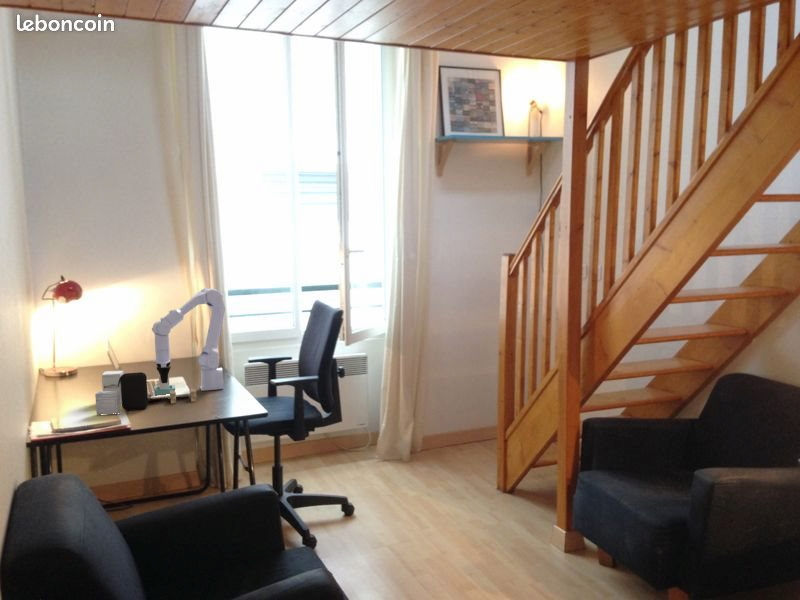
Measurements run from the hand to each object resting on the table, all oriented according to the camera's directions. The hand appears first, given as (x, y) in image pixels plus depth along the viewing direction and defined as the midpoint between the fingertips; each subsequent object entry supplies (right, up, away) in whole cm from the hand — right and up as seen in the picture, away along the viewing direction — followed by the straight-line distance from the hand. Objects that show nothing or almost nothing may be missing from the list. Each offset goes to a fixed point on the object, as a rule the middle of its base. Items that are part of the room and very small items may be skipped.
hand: (164, 381), depth 309 cm
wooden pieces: (+11, -7, -9) cm, 16 cm away
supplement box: (-18, -8, -10) cm, 21 cm away
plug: (0, -5, 0) cm, 5 cm away
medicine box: (-12, -10, -29) cm, 33 cm away
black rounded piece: (-4, -9, -23) cm, 25 cm away
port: (0, -6, +1) cm, 6 cm away
